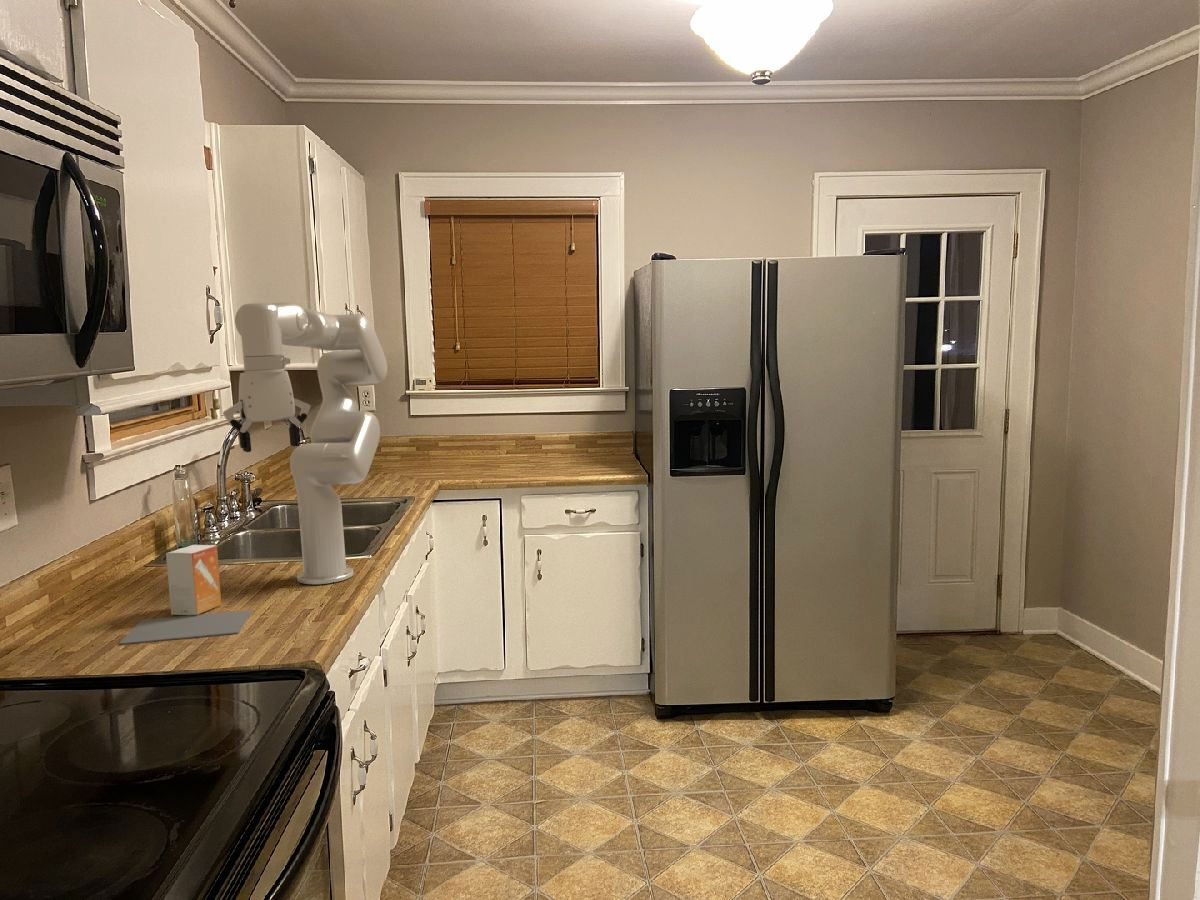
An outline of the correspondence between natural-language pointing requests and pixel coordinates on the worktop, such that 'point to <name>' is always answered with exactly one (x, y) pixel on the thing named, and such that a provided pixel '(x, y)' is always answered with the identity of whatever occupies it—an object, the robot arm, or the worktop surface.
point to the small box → (193, 579)
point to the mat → (187, 627)
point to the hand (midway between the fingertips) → (271, 448)
